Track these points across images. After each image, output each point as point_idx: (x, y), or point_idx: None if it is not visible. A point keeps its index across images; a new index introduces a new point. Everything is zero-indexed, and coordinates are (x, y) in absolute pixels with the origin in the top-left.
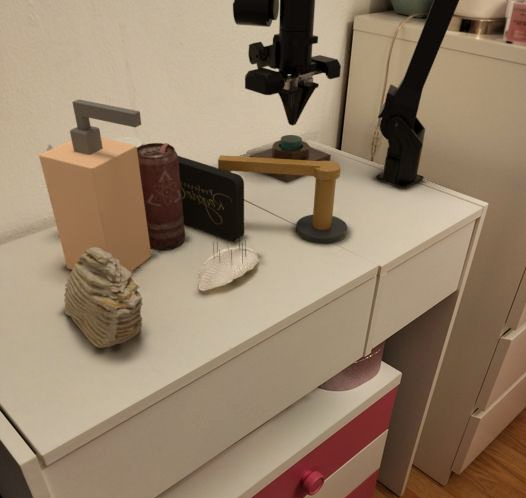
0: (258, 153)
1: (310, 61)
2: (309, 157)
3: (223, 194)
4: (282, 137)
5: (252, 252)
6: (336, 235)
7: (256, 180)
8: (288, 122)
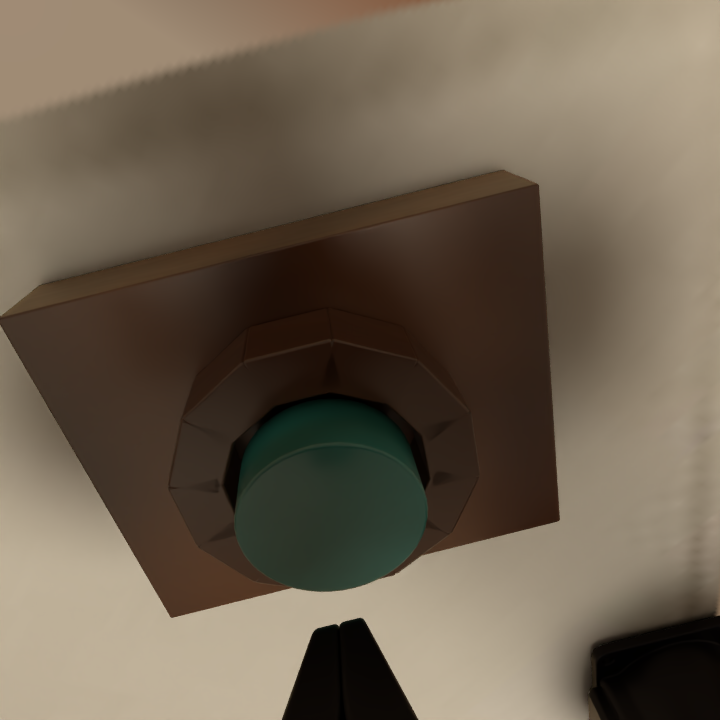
0: (87, 314)
1: None
2: None
3: None
4: (271, 478)
5: None
6: None
7: (18, 487)
8: (308, 647)
